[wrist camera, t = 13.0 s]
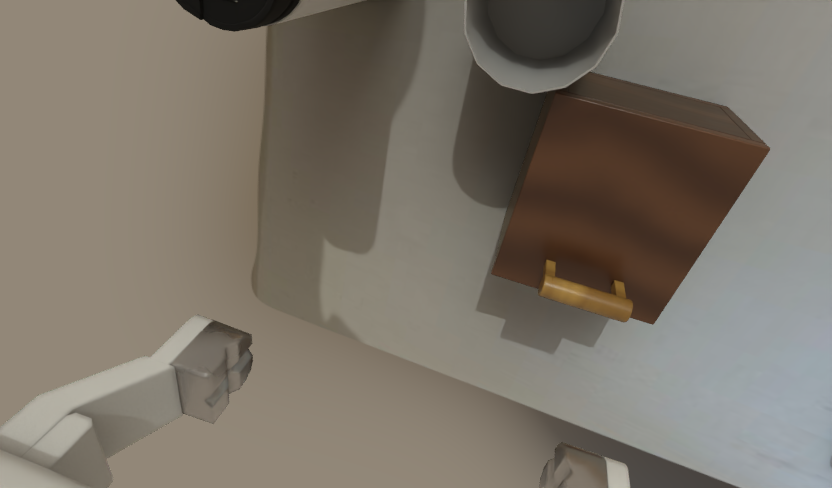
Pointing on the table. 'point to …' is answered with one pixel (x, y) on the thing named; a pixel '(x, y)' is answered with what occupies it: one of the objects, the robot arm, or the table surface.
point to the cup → (540, 39)
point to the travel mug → (256, 11)
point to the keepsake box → (644, 102)
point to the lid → (620, 206)
